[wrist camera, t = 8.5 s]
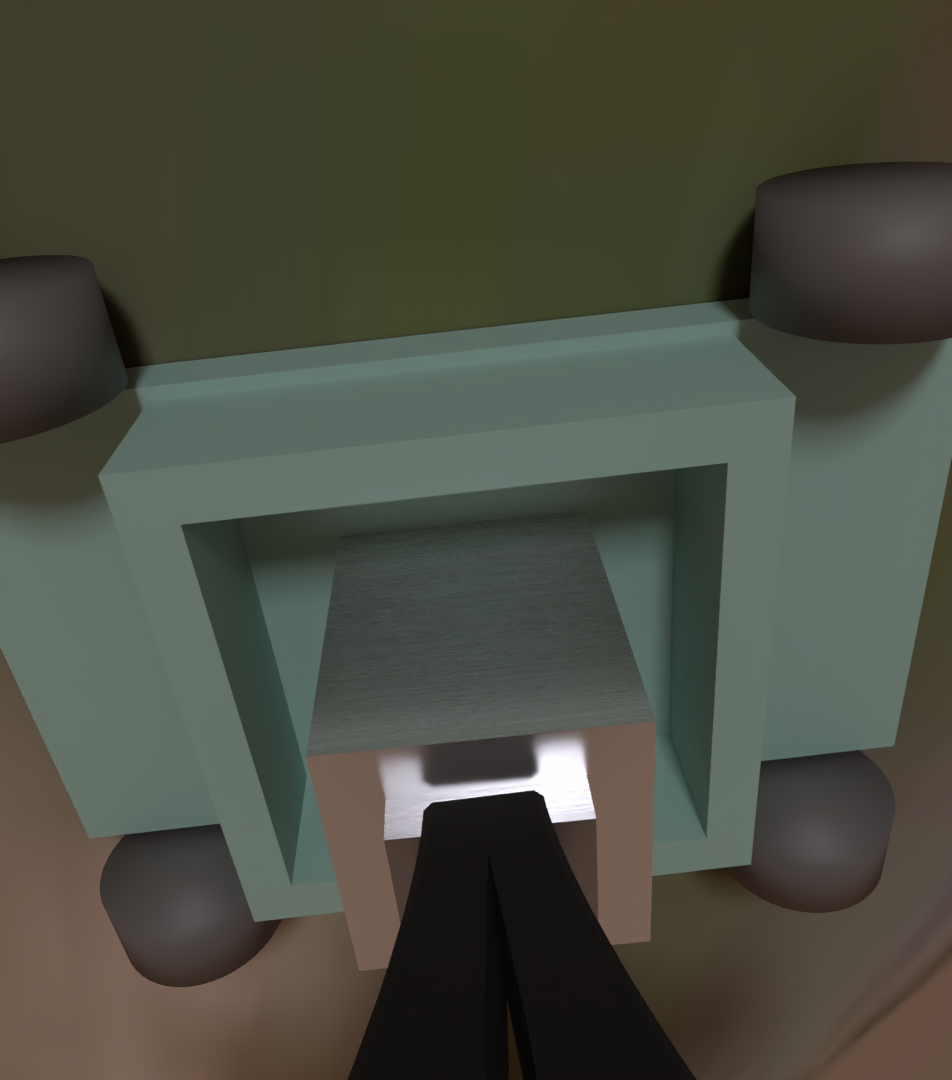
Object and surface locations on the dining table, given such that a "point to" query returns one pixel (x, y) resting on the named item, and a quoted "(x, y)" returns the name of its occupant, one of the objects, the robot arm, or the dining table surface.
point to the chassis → (474, 496)
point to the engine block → (480, 711)
